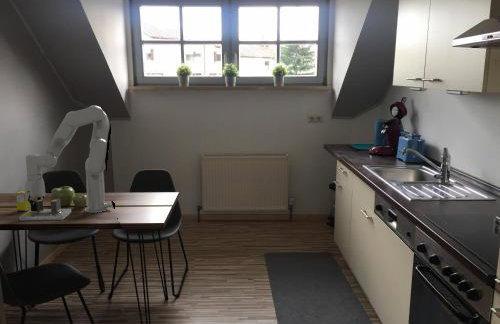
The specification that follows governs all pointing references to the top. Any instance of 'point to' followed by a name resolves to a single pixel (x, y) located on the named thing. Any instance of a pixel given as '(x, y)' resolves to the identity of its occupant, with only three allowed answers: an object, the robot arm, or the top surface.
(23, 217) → the levelling plate
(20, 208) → the supplement box
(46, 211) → the bubble vial
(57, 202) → the knob
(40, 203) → the knob
